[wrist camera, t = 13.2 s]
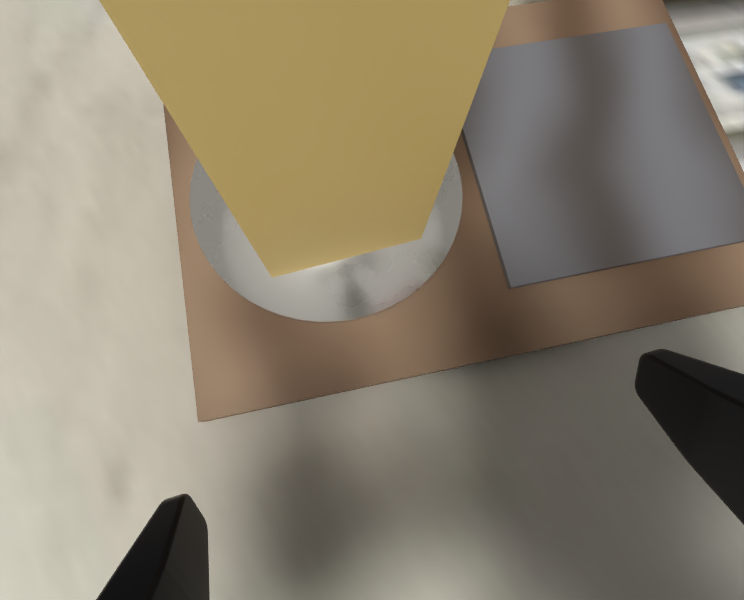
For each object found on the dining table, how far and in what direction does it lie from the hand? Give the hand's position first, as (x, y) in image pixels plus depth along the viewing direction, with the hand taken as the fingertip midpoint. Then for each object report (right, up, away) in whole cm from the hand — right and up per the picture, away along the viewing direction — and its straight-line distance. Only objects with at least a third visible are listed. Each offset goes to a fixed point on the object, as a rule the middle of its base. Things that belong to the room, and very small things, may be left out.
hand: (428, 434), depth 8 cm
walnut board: (+3, +8, +11) cm, 14 cm away
